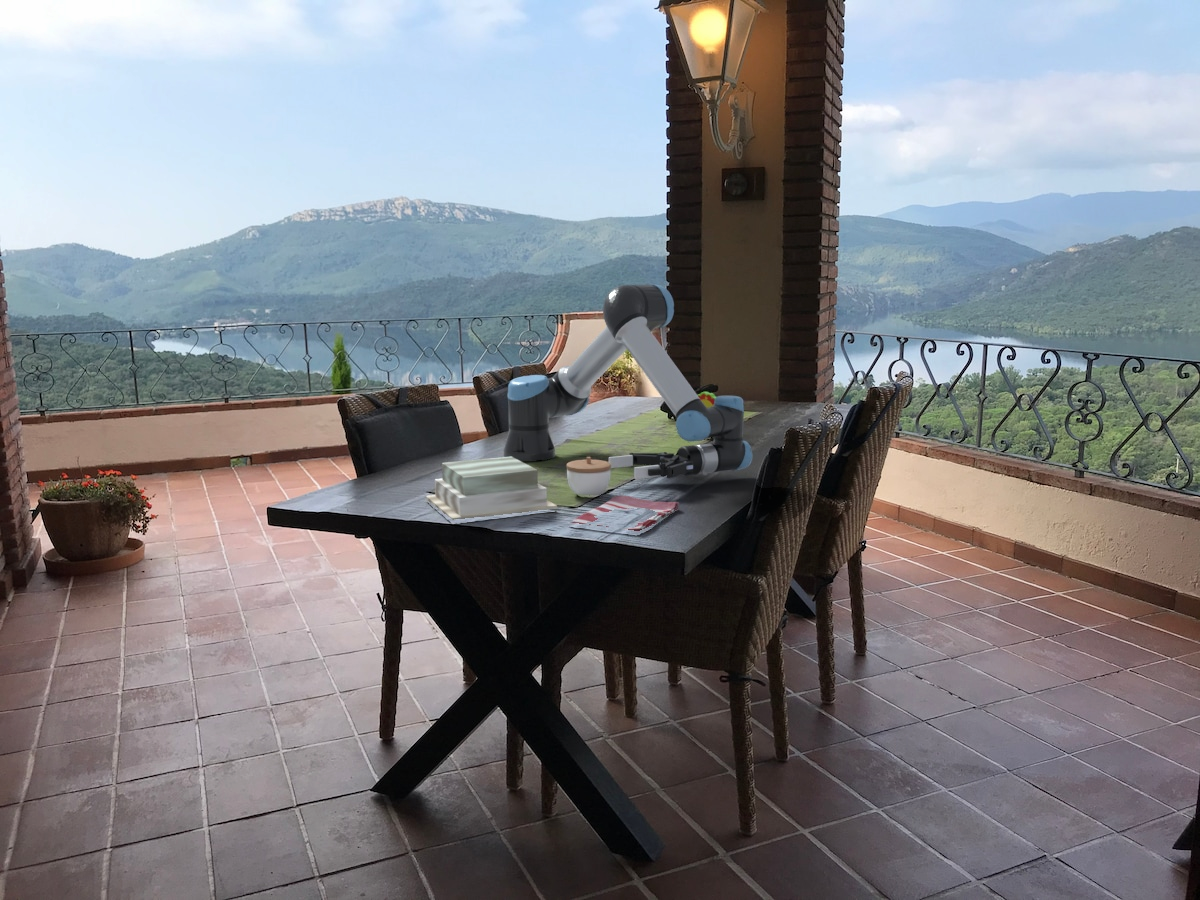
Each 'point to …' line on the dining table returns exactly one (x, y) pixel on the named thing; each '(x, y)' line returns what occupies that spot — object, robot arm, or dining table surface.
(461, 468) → the brick tower
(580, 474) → the lidded jar
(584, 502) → the dining table surface
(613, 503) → the dish towel
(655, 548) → the dining table surface
